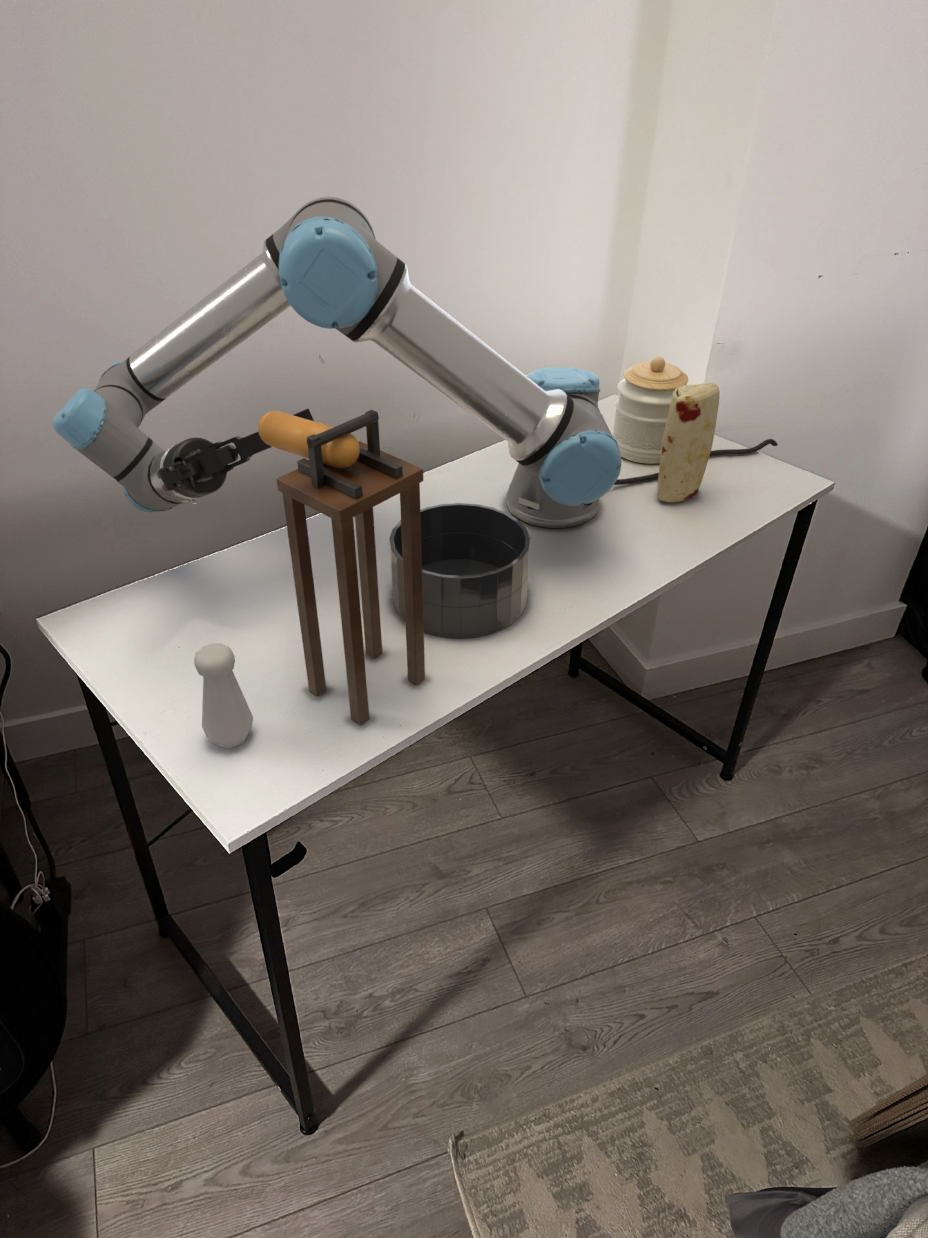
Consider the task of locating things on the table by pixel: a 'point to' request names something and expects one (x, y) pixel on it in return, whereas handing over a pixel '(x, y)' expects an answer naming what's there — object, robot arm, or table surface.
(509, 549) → the pot
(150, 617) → the table surface
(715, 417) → the food model
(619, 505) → the table surface
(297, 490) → the shelf stand
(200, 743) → the table surface
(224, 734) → the salt shaker
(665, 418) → the jar
